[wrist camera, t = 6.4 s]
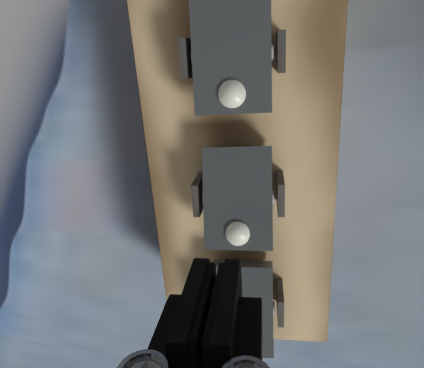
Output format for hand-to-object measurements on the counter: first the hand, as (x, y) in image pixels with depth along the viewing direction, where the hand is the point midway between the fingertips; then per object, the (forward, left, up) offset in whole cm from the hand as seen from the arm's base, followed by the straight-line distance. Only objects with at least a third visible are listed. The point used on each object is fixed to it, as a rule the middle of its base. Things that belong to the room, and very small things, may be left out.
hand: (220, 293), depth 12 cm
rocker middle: (0, 0, -9) cm, 9 cm away
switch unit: (0, 0, -19) cm, 19 cm away
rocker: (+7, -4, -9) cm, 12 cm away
